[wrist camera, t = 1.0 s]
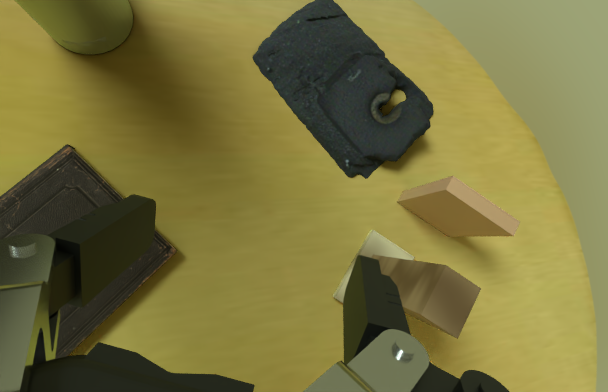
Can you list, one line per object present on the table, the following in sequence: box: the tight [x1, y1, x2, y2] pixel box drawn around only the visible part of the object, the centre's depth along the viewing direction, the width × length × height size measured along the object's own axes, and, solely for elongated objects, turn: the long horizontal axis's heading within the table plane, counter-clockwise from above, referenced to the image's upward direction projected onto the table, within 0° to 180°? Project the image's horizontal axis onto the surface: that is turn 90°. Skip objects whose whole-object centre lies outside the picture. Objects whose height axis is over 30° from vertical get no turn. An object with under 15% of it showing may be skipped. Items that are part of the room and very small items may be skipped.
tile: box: [397, 176, 520, 237], centre depth 34 cm, size 2×8×10 cm, turn 58°
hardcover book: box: [0, 145, 177, 359], centre depth 31 cm, size 16×23×2 cm
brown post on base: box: [333, 230, 481, 339], centre depth 30 cm, size 9×6×15 cm, turn 148°
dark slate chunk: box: [253, 0, 433, 179], centre depth 38 cm, size 15×22×5 cm
